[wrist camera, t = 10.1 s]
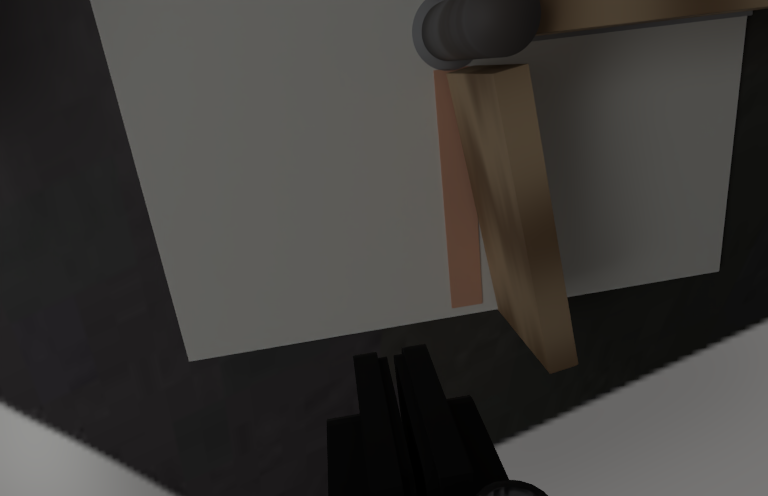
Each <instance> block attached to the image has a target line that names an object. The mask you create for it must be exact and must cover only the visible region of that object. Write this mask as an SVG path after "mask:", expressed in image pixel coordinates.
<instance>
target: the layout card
mask: <svg viewBox="0 0 768 496" xmlns="http://www.w3.org/2000/svg"><path fill="white" fill-rule="evenodd" d="M441 1H443V0H90V2H91V5H92V9H93V13H94V16H95V20H96V23H97V27H98V31H99V34H100V38H101V42H102V45H103V49H104V53H105V56H106V60H107V64H108V67H109V71H110V75H111V78H112V82H113V85H114V89H115V93H116V96H117V100H118V104H119V107H120V111H121V115H122V118H123V122H124V126H125V129H126V133H127V137H128V140H129V144H130V147H131V151H132V155H133V158H134V162H135V166H136V169H137V173H138V177H139V180H140V184H141V188H142V191H143V195H144V199H145V202H146V206H147V209H148V213H149V217H150V220H151V224H152V228H153V231H154V235H155V239H156V242H157V246H158V250H159V253H160V257H161V261H162V264H163V268H164V272H165V275H166V279H167V282H168V286H169V290H170V293H171V297H172V301H173V304H174V308H175V312H176V315H177V319H178V323H179V326H180V330H181V334H182V337H183V341H184V344H185V348H186V352H187V355H188V359H189V362H190V361H195V360H201V359H207V358H213V357H219V356H225V355H231V354H237V353H242V352H248V351H254V350H260V349H266V348H272V347H278V346H283V345H289V344H295V343H301V342H307V341H313V340H319V339H325V338H330V337H336V336H342V335H348V334H354V333H360V332H366V331H372V330H377V329H383V328H389V327H395V326H401V325H407V324H413V323H419V322H424V321H430V320H436V319H442V318H448V317H454V316H460V315H466V314H471V313H477V312H483V311H489V310H495V309H498V307H497V302H496V298H495V293H494V288H493V284H492V279H491V275H490V270H489V266H488V261H487V257H486V252H485V248H484V243H483V239H482V234H481V229H480V225H479V220H478V216H477V211H476V207H475V202H474V198H473V193H472V189H471V184H470V179H469V175H468V170H467V166H466V161H465V157H464V152H463V148H462V143H461V139H460V134H459V129H458V125H457V120H456V116H455V111H454V107H453V102H452V98H451V93H450V89H449V84H448V79H447V75H446V73H449V72H453V71H456V70H460V69H463V68H466V67H470V66H475V65H504V64H529V70H530V76H531V82H532V88H533V94H534V100H535V106H536V112H537V118H538V124H539V130H540V136H541V142H542V148H543V155H544V161H545V167H546V173H547V179H548V185H549V191H550V197H551V203H552V209H553V215H554V221H555V227H556V233H557V239H558V245H559V251H560V257H561V263H562V269H563V275H564V281H565V287H566V293H567V297H571V296H577V295H583V294H589V293H595V292H601V291H606V290H612V289H618V288H624V287H630V286H636V285H642V284H648V283H653V282H659V281H665V280H671V279H677V278H683V277H689V276H695V275H700V274H706V273H712V272H718V271H719V267H720V258H721V249H722V240H723V231H724V222H725V213H726V204H727V194H728V185H729V176H730V167H731V158H732V149H733V140H734V131H735V122H736V113H737V103H738V94H739V85H740V76H741V67H742V58H743V49H744V40H745V31H746V21H747V16H749V15H752V14H753V10H752V11H743V12H735V13H726V14H718V15H709V16H701V17H693V18H684V19H676V20H667V21H659V22H650V23H642V24H634V25H625V26H617V27H608V28H600V29H591V30H583V31H575V32H566V33H558V34H549V35H541V36H535V37H534V38H533V40H532V41H531V42H530V44H529V45H528V46H527V47H526V48H524V49H523V50H522V51H520V52H519V53H517V54H515V55H512V56H508V57H500V58H486V59H472V60H458V61H443V60H439V59H437V58H435V57H434V56H432V55H431V54H430V53H429V52H428V50H427V49H426V47H425V45H424V43H423V39H422V24H423V20H424V18H425V16H426V14H427V13H428V11H429V10H430V9H431V8H432V7H433V6H434V5H436V4H438V3H439V2H441Z"/></svg>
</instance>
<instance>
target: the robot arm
mask: <svg viewBox="0 0 768 496" xmlns="http://www.w3.org/2000/svg"><path fill="white" fill-rule="evenodd" d="M353 358H354V367H355V375H356V384H357V392H358V401H359V409H360V414H356V415H350V416H344V417H338V418H333V419H327V451H328V493H329V496H548V495H547V494H545V492H544V491H542V490H540V489H539V488H537V487H535V486H534V485H532V484H529V483H526V482H522V481H516V480H509V479H508V477H507V474H506V472H505V470H504V468H503V465H502V463H501V461H500V459H499V456H498V454H497V452H496V450H495V448H494V445H493V443H492V441H491V439H490V437H489V434H488V432H487V430H486V428H485V425H484V423H483V421H482V419H481V417H480V414H479V412H478V410H477V408H476V405H475V403H474V401H473V399H472V397H471V396H469V395H467V396H462V397H456V398H450V399H446V398H445V395H444V392H443V390H442V387H441V384H440V382H439V379H438V376H437V374H436V371H435V368H434V366H433V363H432V360H431V358H430V355H429V352H428V349H427V347H426V345H425V344H422V345H416V346H410V347H403V348H402V354H400V355H394V363H395V372H396V380H397V388H398V396H399V404H400V412H401V417H400V413H399V409H398V404H397V400H396V395H395V391H394V387H393V382H392V378H391V374H390V369H389V365H388V360H387V357H381V358H378V357H377V352H373V353H366V354H360V355H354V356H353ZM401 420H402V422H401Z"/></svg>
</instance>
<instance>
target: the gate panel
mask: <svg viewBox="0 0 768 496" xmlns="http://www.w3.org/2000/svg"><path fill="white" fill-rule="evenodd" d="M446 75H447V79H448V84H449V89H450V93H451V98H452V102H453V107H454V111H455V116H456V120H457V125H458V129H459V134H460V139H461V143H462V148H463V152H464V157H465V161H466V166H467V170H468V175H469V179H470V184H471V189H472V193H473V198H474V202H475V207H476V211H477V216H478V220H479V225H480V229H481V234H482V239H483V243H484V248H485V252H486V257H487V261H488V266H489V270H490V275H491V279H492V284H493V288H494V293H495V298H496V302H497V307H498V310H499V311H500V313H501V314H502V315H503V316H504V318H505V319H506V320H507V321H508V322H509V324H510V325H511V326H512V327H513V329H514V330H515V331H516V332H517V334H518V335H519V336H520V337H521V339H522V340H523V341H524V342H525V343H526V345H527V346H528V347H529V348H530V350H531V351H532V352H533V353H534V355H535V356H536V357H537V358H538V360H539V361H540V362H541V363H542V364H543V366H544V367H545V368H546V369H547V371H548V372H549V373H550V374H551V373H555V372H558V371H561V370H564V369H567V368H570V367H573V366H576V365H578V360H577V354H576V348H575V342H574V336H573V330H572V323H571V317H570V311H569V305H568V299H567V293H566V287H565V281H564V275H563V269H562V263H561V257H560V251H559V245H558V239H557V233H556V227H555V221H554V215H553V209H552V203H551V197H550V191H549V185H548V179H547V173H546V167H545V161H544V155H543V148H542V142H541V136H540V130H539V124H538V118H537V112H536V106H535V100H534V94H533V88H532V82H531V76H530V70H529V64H504V65H475V66H470V67H466V68H463V69H460V70H456V71H453V72H449V73H446Z"/></svg>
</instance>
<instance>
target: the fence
mask: <svg viewBox="0 0 768 496" xmlns="http://www.w3.org/2000/svg"><path fill="white" fill-rule="evenodd" d="M766 8H768V0H443V1H441V2H439V3H438V4H436V5H434V6H433V7H432V8H431V9H430V10H429V11H428V13H427V14H426V16H425V18H424V20H423V24H422V39H423V43H424V45H425V47H426V49H427V50H428V52H429V53H430V54H431V55H432V56H434V57H435V58H437V59H439V60H443V61H458V60H472V59H486V58H500V57H508V56H512V55H515V54H517V53H519V52H520V51H522V50H523V49H524V48H526V47H527V46H528V45H529V44H530V42H531V41H532V40H533V38H534V37H535V36H541V35H549V34H558V33H566V32H575V31H583V30H591V29H600V28H608V27H617V26H625V25H634V24H642V23H650V22H659V21H667V20H676V19H684V18H693V17H701V16H709V15H718V14H726V13H735V12H743V11H752V10H759V9H766Z"/></svg>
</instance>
